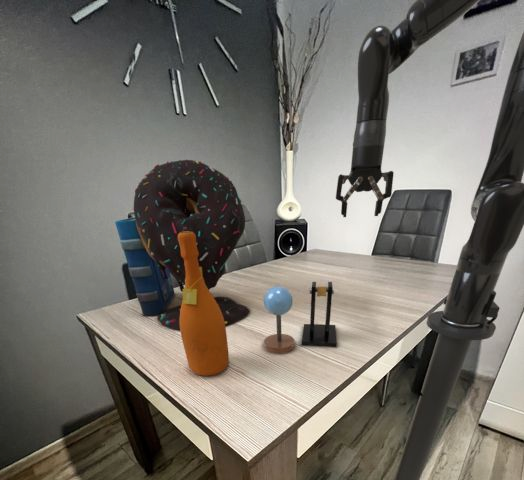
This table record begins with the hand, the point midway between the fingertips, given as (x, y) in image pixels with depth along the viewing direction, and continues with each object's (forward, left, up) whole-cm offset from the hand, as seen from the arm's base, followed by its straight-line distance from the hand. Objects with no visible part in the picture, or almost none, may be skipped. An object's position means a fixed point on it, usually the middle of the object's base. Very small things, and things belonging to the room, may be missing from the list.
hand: (360, 216), depth 77 cm
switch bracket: (+6, +22, -28) cm, 36 cm away
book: (+69, +11, -28) cm, 75 cm away
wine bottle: (+28, +44, -28) cm, 59 cm away
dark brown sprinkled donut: (+48, +14, -28) cm, 57 cm away
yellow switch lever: (+7, +17, -18) cm, 26 cm away
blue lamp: (+15, +30, -28) cm, 44 cm away
